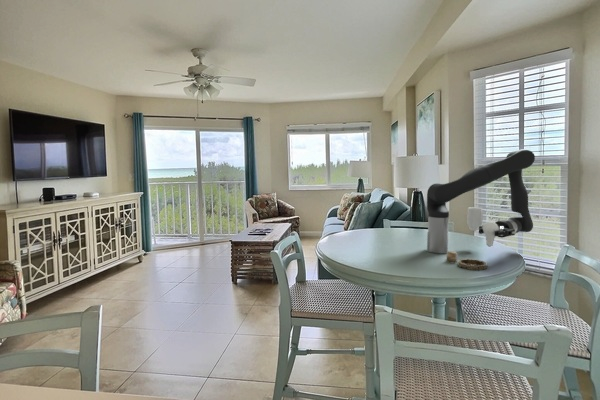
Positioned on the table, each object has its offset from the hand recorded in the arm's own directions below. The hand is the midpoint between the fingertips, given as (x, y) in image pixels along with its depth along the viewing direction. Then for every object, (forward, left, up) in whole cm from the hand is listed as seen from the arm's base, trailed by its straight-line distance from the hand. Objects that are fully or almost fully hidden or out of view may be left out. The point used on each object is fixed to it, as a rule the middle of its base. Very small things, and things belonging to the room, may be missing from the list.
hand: (487, 232), depth 147 cm
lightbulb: (+1, +2, -7) cm, 7 cm away
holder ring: (-6, -8, -13) cm, 16 cm away
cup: (-5, +26, -14) cm, 30 cm away
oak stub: (-14, -3, -14) cm, 19 cm away
